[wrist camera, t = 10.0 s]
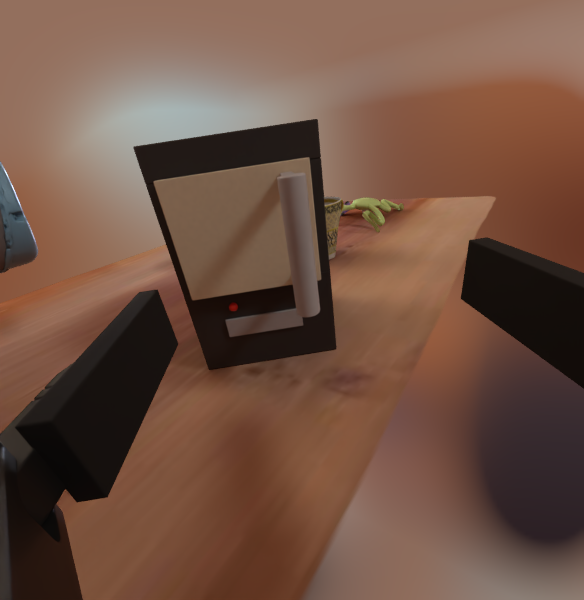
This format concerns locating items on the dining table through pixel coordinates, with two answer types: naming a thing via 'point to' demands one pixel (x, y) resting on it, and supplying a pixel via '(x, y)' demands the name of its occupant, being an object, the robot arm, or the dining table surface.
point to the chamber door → (246, 230)
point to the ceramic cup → (332, 221)
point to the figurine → (372, 209)
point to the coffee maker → (260, 303)
